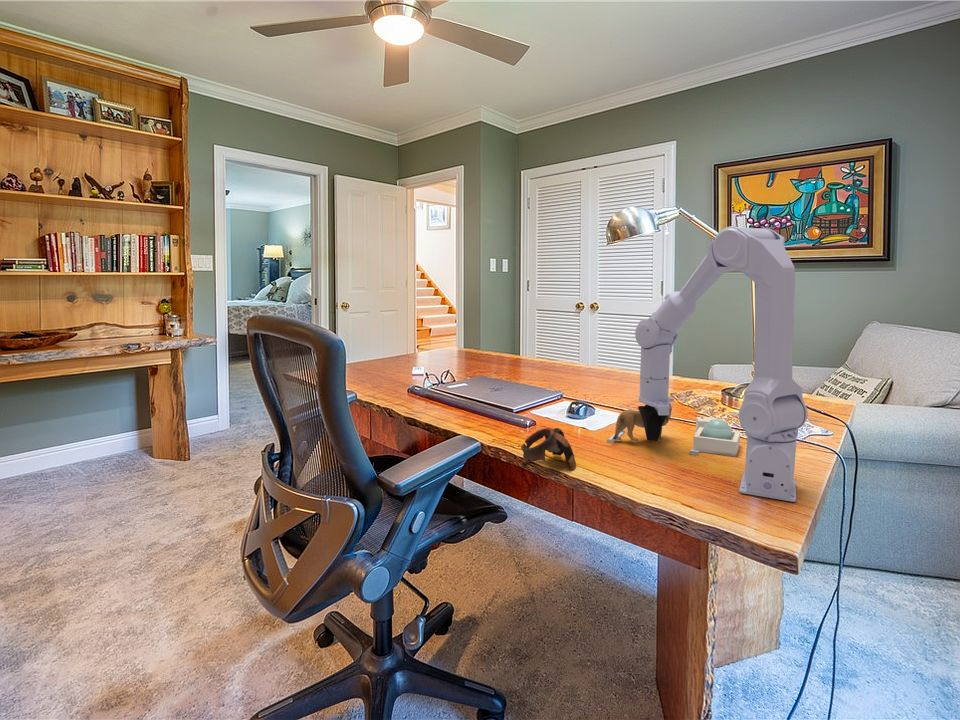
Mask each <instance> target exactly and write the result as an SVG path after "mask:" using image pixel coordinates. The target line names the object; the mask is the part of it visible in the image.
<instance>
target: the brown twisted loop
mask: <svg viewBox="0 0 960 720" xmlns="http://www.w3.org/2000/svg"><path fill="white" fill-rule="evenodd" d="M543 438H544V440H543V441H542V442H540V443H539V444H538V445H535V446H532V445H533V444H534V443H535V442H536V443H537V442H538V441H539V440H541V439H543ZM531 446H532V447H531ZM520 449H521V451H522V452H523V455H522V460H523V461H524V462H525V463H526V464H529V463H531V462H536V461H540V460H541V461H542V462H546V460H547V459H546V452H549V453H552V455H553V456H562V455H564V458H565V459H564V460H565V462H567V463H568V465H570V470H571V471H574V470H575V469H576V466H577V462H576V460H575V459H576V457H575V453H574V451H573V448H572V446H571V444H570V442H569V441H568V439H566V436H565V433H564V431H563V430H562V429H560V428H558V427H555V428H552V427H546V428H545V427H544V428H540V429H538V430H537V431H535V432H534V433H532V434H531V435H530V436H528V437H527V438H526V439H525V440H524V443H523V444H522V445H521V446H520Z"/></svg>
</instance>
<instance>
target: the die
mask: <svg viewBox="0 0 960 720" xmlns="http://www.w3.org/2000/svg"><path fill="white" fill-rule="evenodd" d="M713 419H717V418H716V417H709V416H696V417H695V433H696V432H697V430H698V429H699V427H704V424H707V423H708V422H709V421H711V420H713Z"/></svg>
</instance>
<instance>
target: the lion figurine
mask: <svg viewBox="0 0 960 720" xmlns="http://www.w3.org/2000/svg"><path fill="white" fill-rule="evenodd" d="M669 406H670V411H669V415H668V416H667V417H666V419H665V421H664V423H663V425H662V428H661V432H660V436H659V439H658V441H665V438H664V437H662V433H663V432H662V431H663V427H664V426H667V424H668V423H669V421H670V418H671V416H672V410H673V406H672V404H671V402H669ZM635 426H636V427H638V428H644V423H643V419H642V416H641V413H640V411H639V410H635V409H625V410H623V411H621V412H620V413H619V414H618V416H617V420H616V424H615V431H614V434H615V436H614V437H613V439H612V440H616V441H622V438H621V437H618V435H619V433H620V432H622V431H625V429H627V434H626V435H627V436H628V438H629V439H630V440H631V442H638V441H639V439H638V438H636V437H635V436H634V434H633V432H634V429H635ZM644 429H645V428H644Z"/></svg>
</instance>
